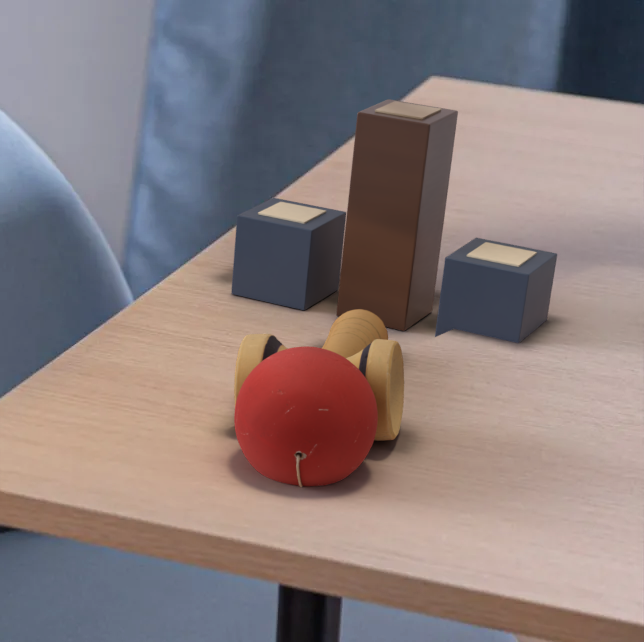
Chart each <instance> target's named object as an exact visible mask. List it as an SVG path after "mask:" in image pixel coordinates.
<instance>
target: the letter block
mask: <svg viewBox="0 0 644 642" xmlns="http://www.w3.org/2000/svg"><path fill="white" fill-rule="evenodd" d="M458 115H459V111H458V110H457V109H450V108H444V107H439V106H433V105H432V106H431V105H426V104H421V103H415V102H407V101H401V100H396V99H390V98H389V99H386V100H383V101H381V102H378V103H377V104H374V105H371V106H369V107H367V108H365V109H362V110H360V111H358V112H357V114H356V122H355V123H356V124H355V133H354V142H353V153H352V161H351V171H350V181H349V191H348V198H347V208H346V209H347V210H346V221H345V230H344V240H343V250H342V260H341V269H340V279H339V289H338V293H337V294H338V295H337V303H336V304H337V305H336V316H337V317H339V316H341V315H342V314H344V313H346V312H348V311H351V310H356V309H362V310H367V311H370V312H372V313H374V314H375V315H377V316H378V317H379V318H380V319H381V320H382V322H383V323H384V326H385V328H390V329H394V330H398V331H402V332H405V331H407V330H408V329H409V328H410V327H412V326H414V325H415V324H416V323H418V322H419V321H421V320H422V319H423V318H425V317H426V316H428V315H429V314H431V313H432V312H433V308H434V301H435V292H436V285H437V277H438V270H439V262H440V255H441V247H442V246H441V245H442V240H443V239H442V238H443V232H444V231H443V230H444V224H445V216H446V209H447V201H448V193H449V186H450V178H451V170H452V169H451V168H452V162H453V156H454V155H453V154H454V146H455V138H456V132H457V131H456V130H457V125H458V124H457V123H458Z"/></svg>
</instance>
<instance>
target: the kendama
mask: <svg viewBox="0 0 644 642" xmlns="http://www.w3.org/2000/svg"><path fill="white" fill-rule="evenodd" d="M404 366H405V365H404V357H403V351H402V346H401V344H400V343H399V341H397V340H394V339H389V333H388V329H387V327H385V326H384V323H383V322H382V320H381V319H380V318H379V317H378V316H377V315H375V314H374V313H372V312H370V311H367V310H362V309H356V310H351V311H348V312H346V313H344V314H342V315H341V316H337V317H336V319H335V320H334V322H333V323H332V325H331V327H330V329H329V332H328V335H327V337H326V340H325V342H324V343H323V345H322V347H318V346H310V345H309V346H306V345H305V346H304V345H303V346H294V347H289V348H288V347H286V346H285V345H284V344H283V343H282V342H281V341H280V340H279V339H278V338H277V336H275V335H274V334H272V333H249V334H246V335H245V336H244V337H243V339H242V340H241V342H240V345H239V347H238V351H237V355H236V361H235V368H234V369H235V370H234V383H233V384H234V386H233V393H234V394H233V399H234V414H233V415H234V416H233V417H234V418H233V421H234V431H235V435H236V440H237V442H238V445H239V447H240V450H241V451H242V453H243V455H244V457H245V459H246V460H247V461H248V463H249V464H250V465H251V466H252V468H254V469H255V470H256V472H258V473H259V474H260V475H262V476H263V477H266V478H267V479H270V480H272V481H275V482H277V483H281V484H287V485H292V486H298V487H300V488H303V487H320V486H321V487H322V486H327V485H333V484H335V483H338V482H341V481H342V480H344V479H346V478H347V477H349V476H350V475H352V473H354V471H356V470H357V469H358V468H359V467H360V466H361V464H362V463H363V462H364V461H365V459H366V458H367V456H368V455H369V452H370V451H371V448H372V447H373V444H374V442H375V441H377V442H378V441H393V440H395V439H396V437H397V436H398V435H399V433H400V429H401V425H402V419H403V414H404V413H403V412H404V404H405V403H404V402H405V401H404V400H405V399H404V398H405V367H404Z"/></svg>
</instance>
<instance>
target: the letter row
mask: <svg viewBox="0 0 644 642" xmlns="http://www.w3.org/2000/svg"><path fill="white" fill-rule="evenodd" d="M346 218H347V211H345V210H338V209H333V208H329V207H323V206H320V205H319V206H317V205H313V204H308V203H303V202H298V201H293V200H288V199H284V198H283V199H282V198H277V197H272V198H270V199H268V200H265V201H264V202H262V203H260V204H257V205H256V206H254V207H251V208H249V209H247V210H245V211H243V212H241V213H239V214H237V215H236V226H235V240H234V252H233V264H232V265H233V266H232V279H231V293H230V294H231V295H234V296H239V297H243V298H247V299H248V298H249V299H252V300H256V301H261V302H265V303H269V304H273V305H279V306H283V307H287V308H292V309H296V310H299V311H306V310H307V309H309V308H311V307H312V306H314V305H315V304H318V303H319V302H321V301H322V300H323V299H325V298H327V297H329V296H330V295H332V294H334V293H335V292H337V291H339V285H340V275H341V266H342V256H343V246H344V237H345V227H346ZM557 258H558V253H557V252H552V251H547V250H542V249H537V248H532V247H526V246H521V245H516V244H512V243H506V242H501V241H496V240H491V239H486V238H480V237H474V238H473V239H471V240H470V241H469V242H467V243H465V244H464V245H462V246H461V247H459V248H457V249H456V250H455V251H453V252H452V253H450V254H448V255H447V256H445V258H444V263H443V272H442V277H441V278H442V280H441V285H440V293H439V294H440V295H439V301H438V309H437V317H436V326H435V333H434V338H437V337H439V336H441V335H444V334H446V333H448V332H450V331H453V330H457V331H463V332H466V333H472V334H475V335H481V336H484V337H489V338H494V339H497V340H502V341H507V342H512V343H516V344H520V343H521V342H522V341H523V340H525V339H526V338H527V337H528V336H529V335H531V334H532V333H533V332H534V331H535V330H537V329H538V328H539V327H541V326H542V325H543V324H544V323H545V322H547V321H548V315H549V309H550V305H551V296H552V291H553V285H554V279H555V278H554V277H555V272H556V266H557Z"/></svg>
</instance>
